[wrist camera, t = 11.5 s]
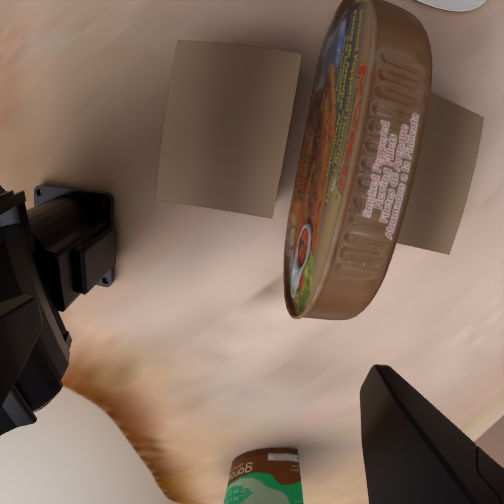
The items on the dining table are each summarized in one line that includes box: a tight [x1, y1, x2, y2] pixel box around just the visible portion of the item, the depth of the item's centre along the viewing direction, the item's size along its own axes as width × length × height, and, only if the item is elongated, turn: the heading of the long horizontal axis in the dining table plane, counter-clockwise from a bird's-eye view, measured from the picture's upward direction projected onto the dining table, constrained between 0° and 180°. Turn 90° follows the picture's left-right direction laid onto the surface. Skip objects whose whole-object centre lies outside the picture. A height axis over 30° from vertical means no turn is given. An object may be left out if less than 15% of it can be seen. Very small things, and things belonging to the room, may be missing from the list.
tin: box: [283, 0, 432, 320], centre depth 13 cm, size 15×3×8 cm, turn 170°
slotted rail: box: [156, 40, 484, 255], centre depth 15 cm, size 16×8×3 cm, turn 81°
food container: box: [224, 448, 303, 504], centre depth 24 cm, size 12×6×10 cm, turn 158°
